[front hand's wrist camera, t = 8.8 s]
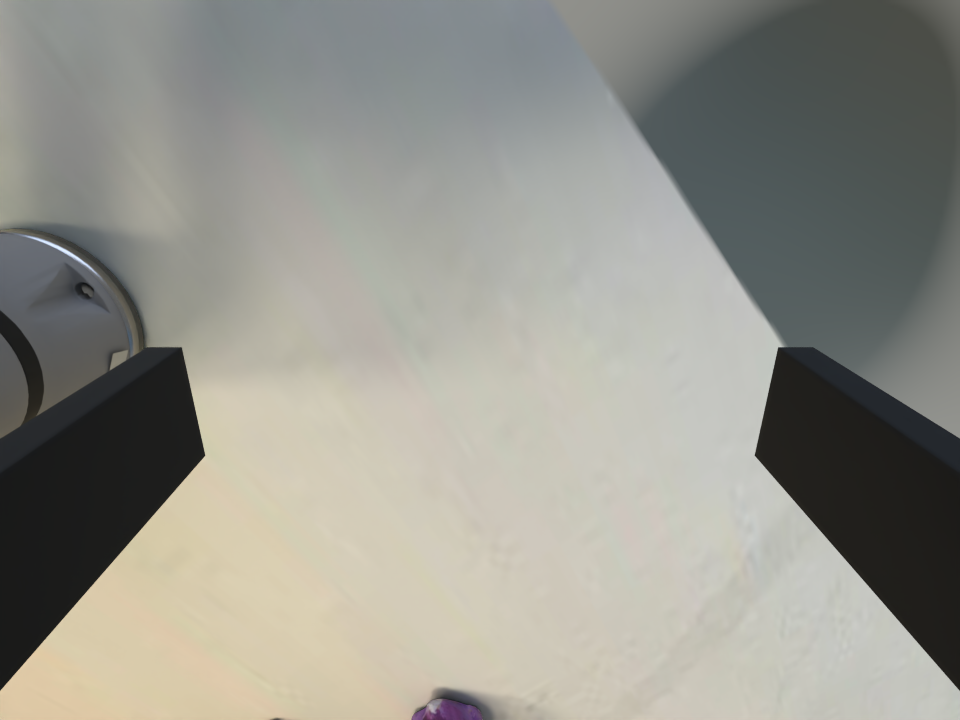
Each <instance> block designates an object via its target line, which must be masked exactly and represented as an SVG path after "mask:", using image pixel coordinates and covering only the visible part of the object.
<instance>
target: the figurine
mask: <svg viewBox="0 0 960 720" xmlns="http://www.w3.org/2000/svg"><path fill="white" fill-rule="evenodd" d="M412 720H483V718H482V715H481V712H480V710H479V709H477V707H475V706H471V705H465V704H463V703H460V702H457V701H453V700H448V699H435V700H431V701H430V702H429V703H428V704H427V707H426V708H424V709H422V710H420V711H418V712H416V713H415V714H414V715H413V716H412Z"/></svg>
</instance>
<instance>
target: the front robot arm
mask: <svg viewBox="0 0 960 720" xmlns="http://www.w3.org/2000/svg"><path fill="white" fill-rule="evenodd" d="M143 347H144V344H143V332H142V327H141V323H140V319H139V316H138V314H137V311H136V309H135V306H134V304H133V302H132V300H131V299H130V297H129V295H128V293H127V292H126V290H125V289H124V287H123V286H122V285H121V283H120V282H119V281H118V280H117V278H116V277H115V276H114V275H113V274H112V273H111V272H110V271H109V270H108V269H107V268H106V267H105V266H104V265H103V264H102V263H101V262H100V261H99V260H97V259H96V258H95V257H93V256H92V255H91V254H89V253H88V252H86V251H85V250H83V249H82V248H80V247H78V246H77V245H75V244H73V243H71V242H69V241H67V240H65V239H62V238H60V237H57V236H54V235H52V234H48V233H44V232H40V231H35V230H28V229H6V230H0V690H1V689H2V688H3V687H4V686H5V685H6V683H7V682H8V681H9V680H10V679H11V678H12V677H13V675H14V674H15V673H16V672H17V671H18V670H19V669H20V667H21V666H22V665H23V664H24V663H25V662H26V661H27V659H28V658H29V657H30V656H31V655H32V654H33V652H34V651H35V650H36V649H37V648H38V647H39V646H40V644H41V643H42V642H43V641H44V640H45V639H46V638H47V636H48V635H49V634H50V633H51V632H52V631H53V630H54V628H55V627H56V626H57V625H58V624H59V623H60V622H61V620H62V619H63V618H64V617H65V616H66V615H67V613H68V612H69V611H70V610H71V609H72V608H73V607H74V605H75V604H76V603H77V602H78V601H79V600H80V599H81V597H82V596H83V595H84V594H85V593H86V592H87V591H88V589H89V588H90V587H91V586H92V585H93V584H94V583H95V581H96V580H97V579H98V578H99V577H100V576H101V574H102V573H103V572H104V571H105V570H106V569H107V568H108V566H109V565H110V564H111V563H112V562H113V561H114V560H115V558H116V557H117V556H118V555H119V554H120V553H121V552H122V550H123V549H124V548H125V547H126V546H127V545H128V544H129V542H130V541H131V540H132V539H133V538H134V537H135V535H136V534H137V533H138V532H139V531H140V530H141V529H142V527H143V526H144V525H145V524H146V523H147V522H148V521H149V519H150V518H151V517H152V516H153V515H154V514H155V513H156V511H157V510H158V509H159V508H160V507H161V506H162V505H163V503H164V502H165V501H166V500H167V499H168V498H169V496H170V495H171V494H172V493H173V492H174V491H175V490H176V488H177V487H178V486H179V485H180V484H181V483H182V482H183V480H184V479H185V478H186V477H187V476H188V475H189V474H190V472H191V471H192V470H193V469H194V468H195V467H196V466H197V464H198V463H199V462H200V461H201V460H202V459H203V457H204V456H205V452H204V448H203V443H202V439H201V434H200V429H199V425H198V420H197V416H196V411H195V406H194V402H193V397H192V393H191V388H190V383H189V379H188V374H187V370H186V365H185V360H184V356H183V351H182V347H147V348H145V349H144V350H143ZM755 456H756V457H757V459H758V460H759V461H760V462H761V463H762V464H763V466H764V467H765V468H766V469H767V470H768V471H769V472H770V474H771V475H772V476H773V477H774V478H775V479H776V480H777V482H778V483H779V484H780V485H781V486H782V487H783V488H784V490H785V491H786V492H787V493H788V494H789V495H790V496H791V498H792V499H793V500H794V501H795V502H796V503H797V505H798V506H799V507H800V508H801V509H802V510H803V511H804V513H805V514H806V515H807V516H808V517H809V518H810V519H811V521H812V522H813V523H814V524H815V525H816V526H817V527H818V529H819V530H820V531H821V532H822V533H823V534H824V535H825V537H826V538H827V539H828V540H829V541H830V542H831V544H832V545H833V546H834V547H835V548H836V549H837V550H838V552H839V553H840V554H841V555H842V556H843V557H844V558H845V560H846V561H847V562H848V563H849V564H850V565H851V566H852V568H853V569H854V570H855V571H856V572H857V573H858V574H859V576H860V577H861V578H862V579H863V580H864V581H865V583H866V584H867V585H868V586H869V587H870V588H871V589H872V591H873V592H874V593H875V594H876V595H877V596H878V597H879V599H880V600H881V601H882V602H883V603H884V604H885V605H886V607H887V608H888V609H889V610H890V611H891V612H892V613H893V615H894V616H895V617H896V618H897V619H898V620H899V622H900V623H901V624H902V625H903V626H904V627H905V628H906V630H907V631H908V632H909V633H910V634H911V635H912V636H913V638H914V639H915V640H916V641H917V642H918V643H919V644H920V646H921V647H922V648H923V649H924V650H925V651H926V652H927V654H928V655H929V656H930V657H931V658H932V659H933V661H934V662H935V663H936V664H937V665H938V666H939V667H940V669H941V670H942V671H943V672H944V673H945V674H946V675H947V677H948V678H949V679H950V680H951V681H952V682H953V683H954V685H955V686H956V687H957V688H958V689H959V690H960V438H958V437H956V436H955V435H953V434H952V433H950V432H948V431H947V430H945V429H944V428H942V427H940V426H939V425H937V424H935V423H934V422H932V421H931V420H929V419H927V418H926V417H924V416H923V415H921V414H919V413H918V412H916V411H915V410H913V409H911V408H910V407H908V406H907V405H905V404H903V403H902V402H900V401H898V400H897V399H895V398H894V397H892V396H890V395H889V394H887V393H886V392H884V391H882V390H881V389H879V388H878V387H876V386H874V385H873V384H871V383H869V382H868V381H866V380H865V379H863V378H861V377H860V376H858V375H857V374H855V373H853V372H852V371H850V370H849V369H847V368H845V367H844V366H842V365H841V364H839V363H837V362H836V361H834V360H833V359H831V358H829V357H828V356H826V355H824V354H823V353H821V352H820V351H818V350H816V349H815V348H813V347H778V351H777V356H776V360H775V365H774V370H773V374H772V379H771V383H770V388H769V393H768V397H767V402H766V406H765V411H764V416H763V420H762V425H761V429H760V434H759V439H758V443H757V448H756V452H755Z"/></svg>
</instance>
